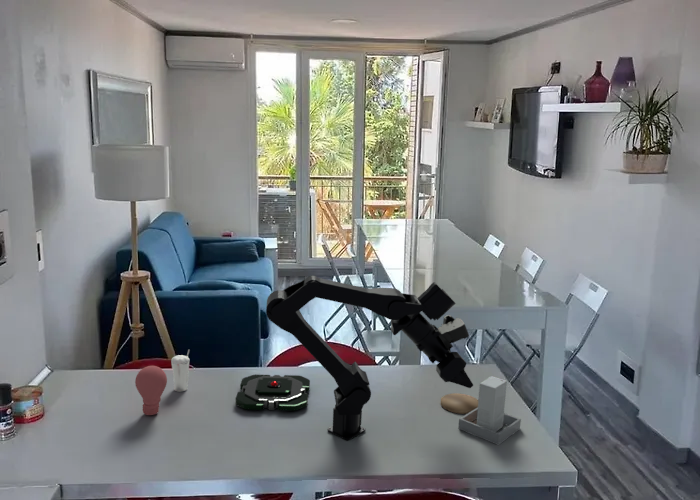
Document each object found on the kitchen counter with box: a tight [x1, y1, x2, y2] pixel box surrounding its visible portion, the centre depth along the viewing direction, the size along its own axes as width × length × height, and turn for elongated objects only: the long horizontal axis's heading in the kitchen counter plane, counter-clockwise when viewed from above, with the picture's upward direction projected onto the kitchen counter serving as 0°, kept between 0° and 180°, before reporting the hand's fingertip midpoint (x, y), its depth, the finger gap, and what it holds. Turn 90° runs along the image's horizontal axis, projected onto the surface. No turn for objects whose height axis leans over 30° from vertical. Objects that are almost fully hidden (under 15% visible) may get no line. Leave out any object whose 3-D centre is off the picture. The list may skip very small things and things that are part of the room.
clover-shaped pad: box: [234, 374, 311, 412], centre depth 162 cm, size 18×18×5 cm
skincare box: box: [476, 375, 508, 433], centre depth 148 cm, size 6×4×12 cm
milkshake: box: [170, 349, 191, 393], centre depth 163 cm, size 4×5×10 cm
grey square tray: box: [457, 407, 522, 446], centre depth 149 cm, size 10×10×2 cm
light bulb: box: [134, 365, 168, 416], centre depth 149 cm, size 7×7×12 cm
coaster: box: [440, 393, 478, 415], centre depth 161 cm, size 10×10×1 cm
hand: (465, 378), depth 146 cm, fingers open, 9 cm apart
